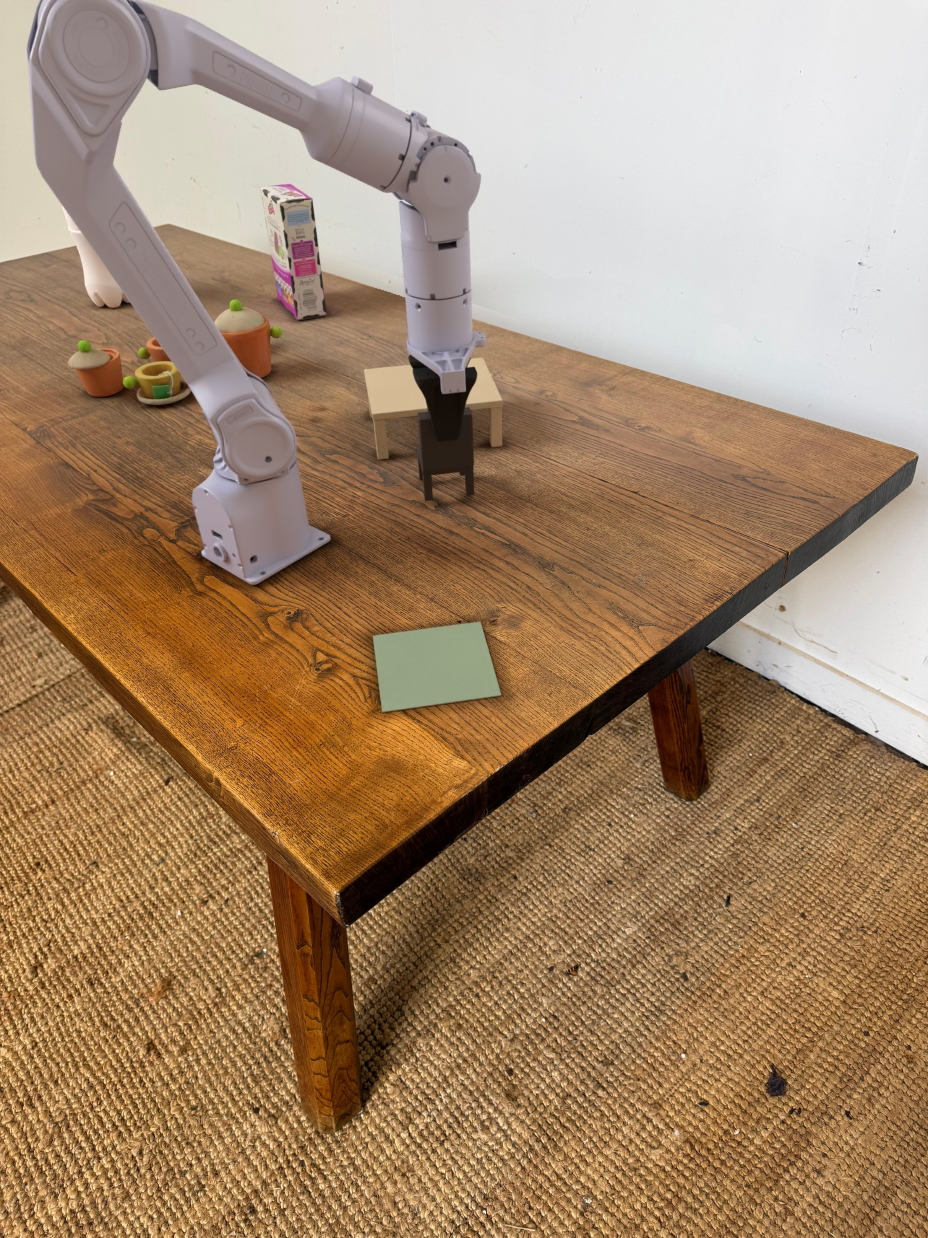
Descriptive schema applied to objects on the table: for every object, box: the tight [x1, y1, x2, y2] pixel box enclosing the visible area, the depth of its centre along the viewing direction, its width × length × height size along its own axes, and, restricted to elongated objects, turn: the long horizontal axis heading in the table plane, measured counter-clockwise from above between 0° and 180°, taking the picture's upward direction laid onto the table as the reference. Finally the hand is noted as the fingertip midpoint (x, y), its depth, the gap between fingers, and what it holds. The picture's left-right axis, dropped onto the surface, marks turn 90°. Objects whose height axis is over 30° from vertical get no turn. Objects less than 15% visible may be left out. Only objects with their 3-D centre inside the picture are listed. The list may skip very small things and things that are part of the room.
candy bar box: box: [260, 183, 328, 321], centre depth 130 cm, size 11×5×16 cm, turn 25°
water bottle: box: [60, 203, 130, 309], centre depth 132 cm, size 7×7×25 cm
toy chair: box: [416, 407, 475, 502], centre depth 87 cm, size 5×5×9 cm
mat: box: [372, 621, 502, 714], centre depth 69 cm, size 9×9×1 cm
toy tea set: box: [67, 299, 283, 406], centre depth 112 cm, size 26×16×10 cm, turn 126°
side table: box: [363, 357, 504, 460], centre depth 99 cm, size 12×14×6 cm
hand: (445, 433), depth 84 cm, fingers closed on toy chair
